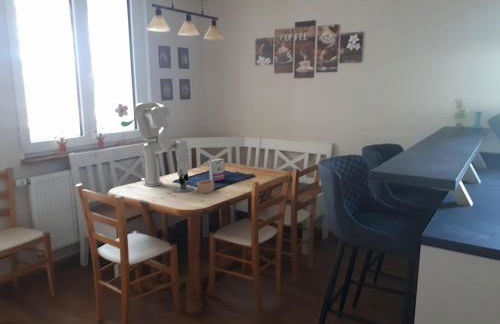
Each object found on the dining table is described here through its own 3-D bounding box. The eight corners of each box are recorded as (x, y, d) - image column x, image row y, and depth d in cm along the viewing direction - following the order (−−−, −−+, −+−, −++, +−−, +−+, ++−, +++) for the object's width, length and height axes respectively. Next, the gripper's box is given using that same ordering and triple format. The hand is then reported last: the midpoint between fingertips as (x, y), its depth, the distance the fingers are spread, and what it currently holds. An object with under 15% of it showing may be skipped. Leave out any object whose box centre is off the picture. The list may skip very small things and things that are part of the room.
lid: (171, 192, 272) (170, 182, 270) (176, 187, 285) (176, 178, 284) (191, 192, 270) (190, 183, 269) (195, 187, 284) (195, 178, 283)
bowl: (195, 192, 270) (195, 184, 269) (200, 188, 281) (199, 180, 279) (211, 193, 268) (211, 184, 267) (215, 188, 279) (214, 180, 278)
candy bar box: (221, 178, 306) (220, 158, 302) (225, 180, 302) (224, 159, 298) (209, 181, 299) (208, 160, 295) (212, 182, 295) (212, 161, 291)
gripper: (181, 156, 282) (182, 179, 285) (172, 160, 265) (174, 185, 268) (191, 156, 281) (192, 179, 284) (183, 160, 264) (185, 185, 267)
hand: (184, 182), depth 276 cm, fingers open, 9 cm apart
